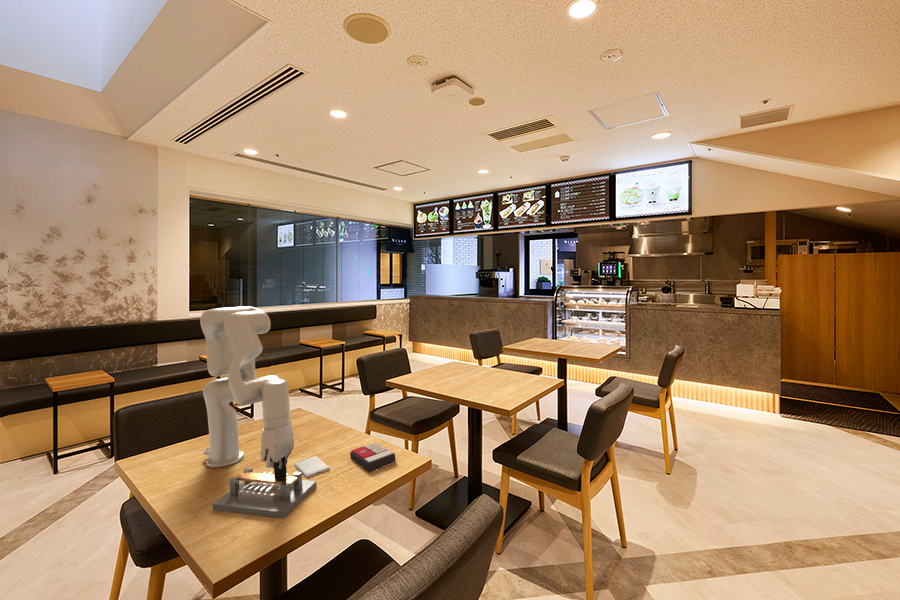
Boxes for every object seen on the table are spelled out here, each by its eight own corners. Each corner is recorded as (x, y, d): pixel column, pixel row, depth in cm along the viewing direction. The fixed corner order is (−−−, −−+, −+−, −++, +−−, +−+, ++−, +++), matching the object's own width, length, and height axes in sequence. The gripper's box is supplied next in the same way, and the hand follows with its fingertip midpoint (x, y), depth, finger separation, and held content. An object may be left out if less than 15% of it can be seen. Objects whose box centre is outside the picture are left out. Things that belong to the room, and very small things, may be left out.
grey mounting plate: (212, 510, 115) (212, 503, 114) (253, 480, 131) (253, 475, 131) (283, 519, 109) (283, 512, 109) (316, 487, 126) (316, 481, 126)
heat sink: (227, 497, 117) (226, 481, 117) (250, 480, 127) (249, 465, 127) (284, 504, 113) (283, 487, 113) (304, 486, 123) (303, 470, 122)
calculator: (375, 441, 153) (395, 451, 141) (375, 451, 153) (396, 463, 141) (349, 449, 146) (368, 461, 134) (350, 460, 146) (369, 473, 134)
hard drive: (294, 462, 141) (307, 475, 132) (315, 455, 146) (329, 466, 137) (294, 467, 141) (307, 479, 132) (316, 459, 147) (330, 471, 137)
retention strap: (235, 481, 120) (234, 476, 120) (243, 475, 124) (243, 470, 124) (290, 486, 116) (290, 481, 116) (298, 480, 119) (297, 475, 119)
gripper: (282, 411, 126) (285, 466, 126) (248, 429, 111) (252, 491, 112) (302, 412, 124) (305, 468, 125) (271, 430, 109) (275, 493, 110)
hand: (280, 478), depth 118 cm, fingers closed
